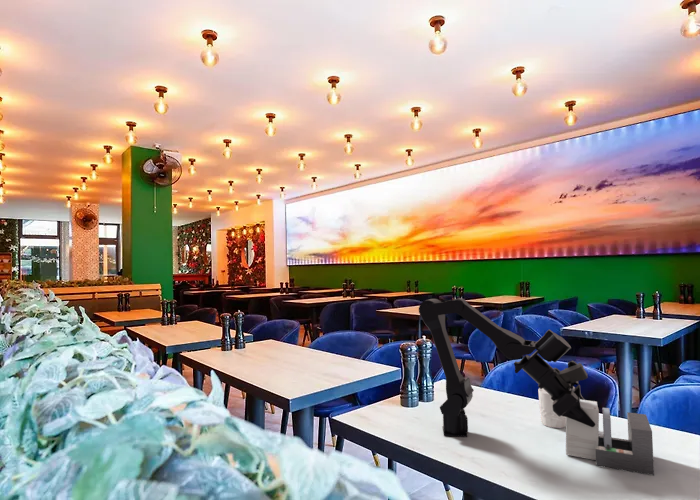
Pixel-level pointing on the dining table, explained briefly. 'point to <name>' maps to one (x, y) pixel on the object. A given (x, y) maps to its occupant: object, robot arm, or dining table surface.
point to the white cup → (549, 411)
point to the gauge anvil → (629, 448)
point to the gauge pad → (607, 428)
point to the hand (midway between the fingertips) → (593, 420)
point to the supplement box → (583, 433)
